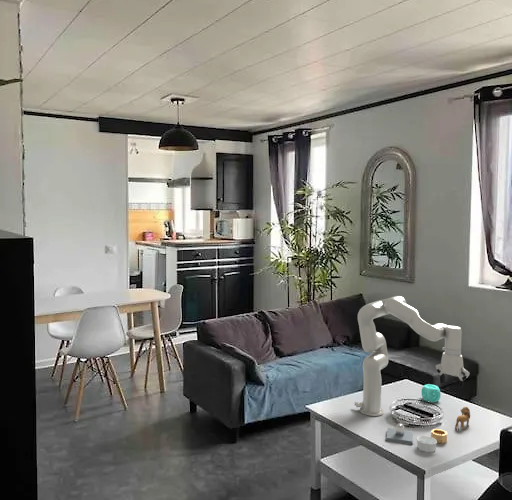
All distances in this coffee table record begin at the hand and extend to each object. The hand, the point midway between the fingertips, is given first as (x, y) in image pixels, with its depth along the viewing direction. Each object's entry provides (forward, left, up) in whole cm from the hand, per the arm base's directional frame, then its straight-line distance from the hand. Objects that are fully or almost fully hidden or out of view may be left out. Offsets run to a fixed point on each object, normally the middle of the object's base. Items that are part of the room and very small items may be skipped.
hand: (451, 385), depth 262 cm
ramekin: (-11, -22, -24) cm, 35 cm away
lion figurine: (+6, +10, -24) cm, 27 cm away
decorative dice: (-8, +44, -24) cm, 51 cm away
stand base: (-23, -14, -24) cm, 36 cm away
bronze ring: (-5, -11, -24) cm, 27 cm away
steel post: (-23, -14, -23) cm, 35 cm away
